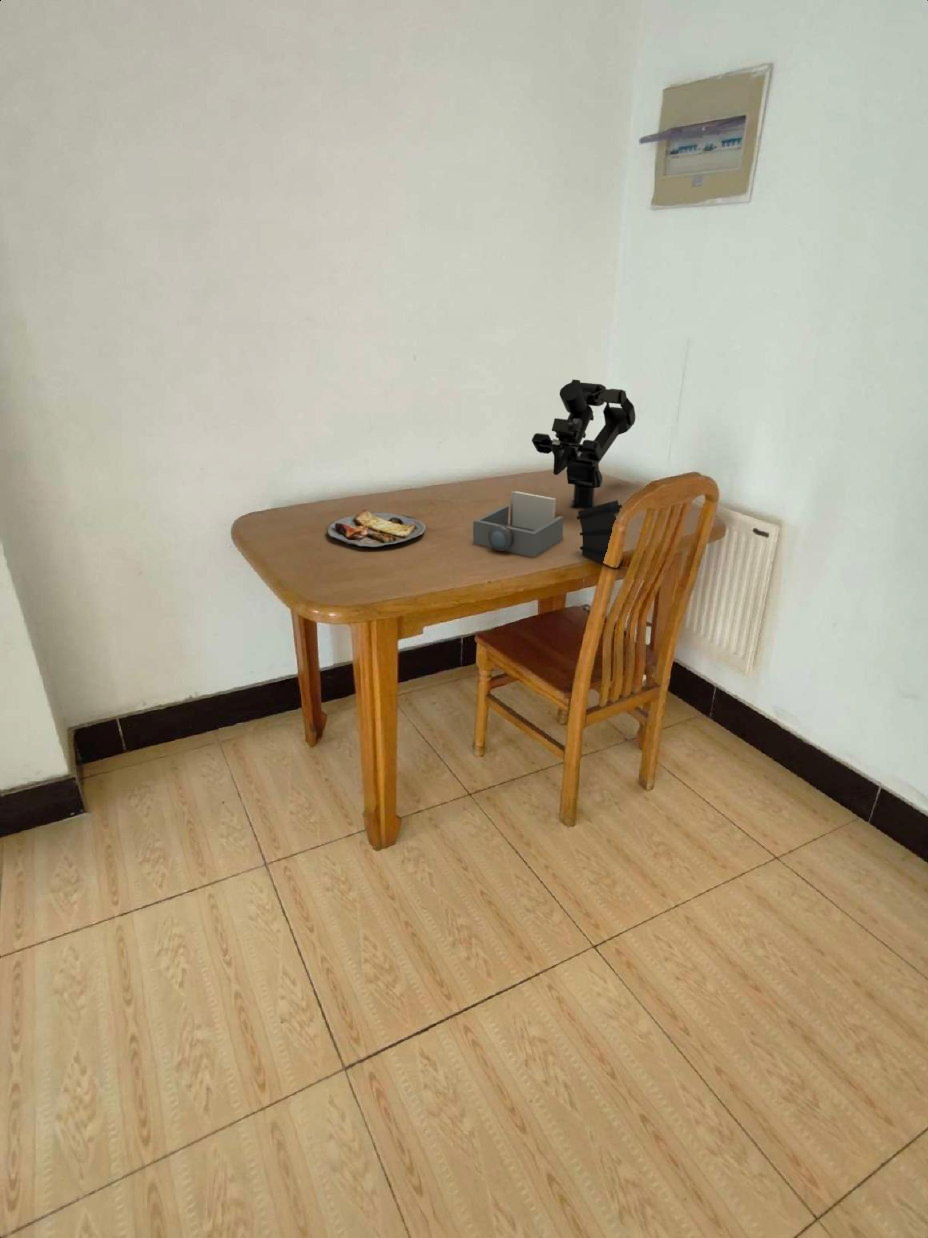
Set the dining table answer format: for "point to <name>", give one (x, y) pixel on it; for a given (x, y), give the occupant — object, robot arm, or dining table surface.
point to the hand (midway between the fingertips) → (555, 474)
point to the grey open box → (515, 534)
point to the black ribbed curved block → (598, 529)
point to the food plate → (375, 528)
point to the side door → (531, 510)
